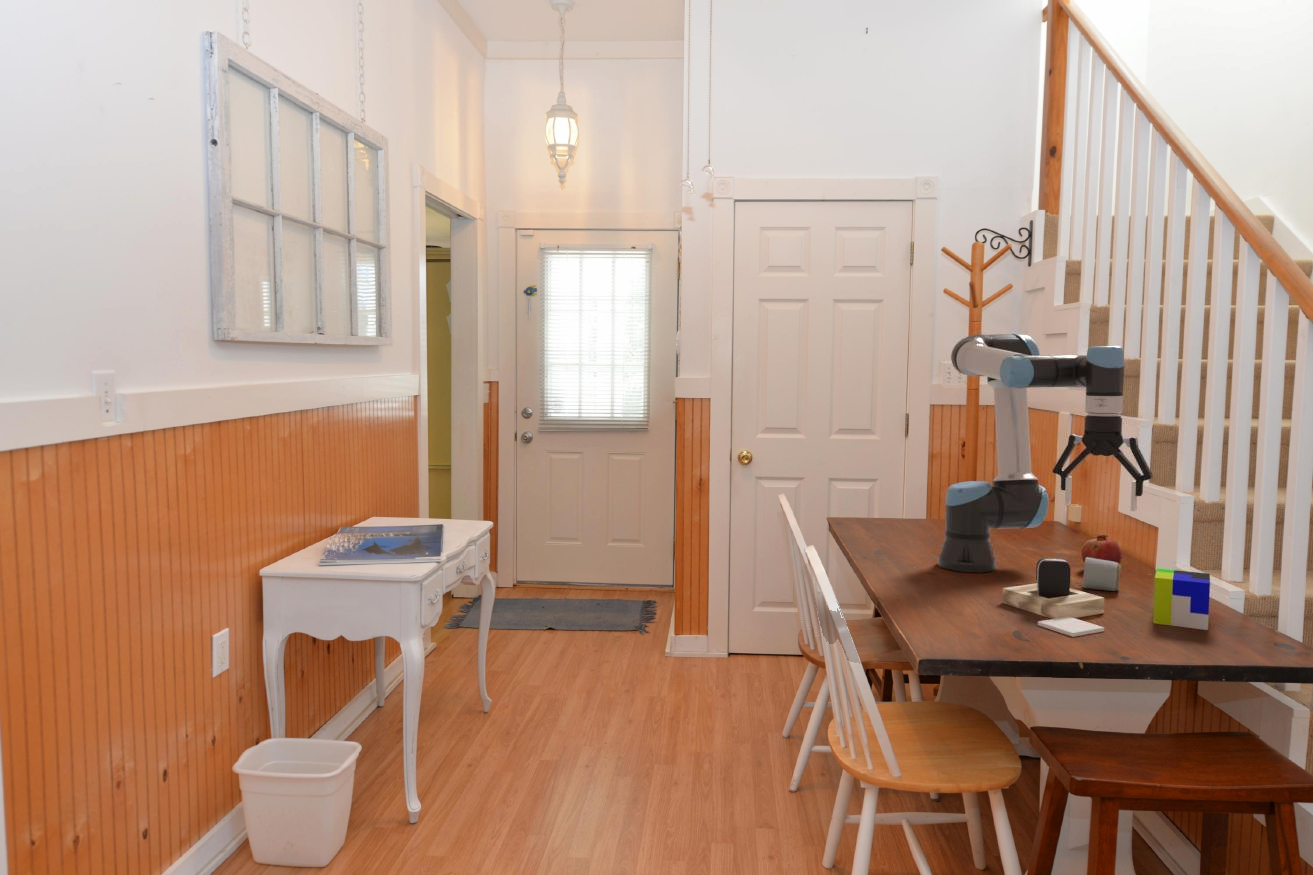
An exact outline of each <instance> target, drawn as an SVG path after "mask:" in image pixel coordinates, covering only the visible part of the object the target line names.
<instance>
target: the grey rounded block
mask: <svg viewBox="0 0 1313 875" xmlns="http://www.w3.org/2000/svg"><path fill="white" fill-rule="evenodd" d="M1121 570H1122V565H1121V563H1120V564H1119V563H1116V562H1113V561H1107V560H1101V559H1094V558H1089V557H1086V558H1085V563H1084V567H1083V577H1082V588H1084V589H1090V590H1101V591H1108V592H1116V591H1118V590H1120V582H1121Z"/></svg>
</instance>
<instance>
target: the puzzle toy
mask: <svg viewBox="0 0 1313 875" xmlns="http://www.w3.org/2000/svg"><path fill="white" fill-rule="evenodd" d="M1153 589H1154V590H1153V591H1154V592H1153V594H1154V596H1153V614H1152V616H1153V618H1152V619H1153V620H1152V623H1153V624H1158V625H1166V626H1174V627H1180V628H1182V627H1183V628H1189V629H1197V630H1202V631H1203V630H1205V631H1208V630H1209V617H1210V616H1209V612H1210V592H1211V591H1210V589H1211V574H1210V573H1206V572H1199V571H1198V572H1196V571H1186V570H1178V569H1177V570H1176V569H1169V568H1167V569H1166V568H1156V572H1155V576H1154V588H1153Z"/></svg>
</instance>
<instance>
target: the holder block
mask: <svg viewBox="0 0 1313 875" xmlns="http://www.w3.org/2000/svg"><path fill="white" fill-rule="evenodd" d="M1105 600H1106V598H1105V596H1104V597H1102V596H1099V595H1095V594H1092V593H1088V592H1085V591H1082V590H1078V589H1073V588H1071V587H1070V592H1069V596H1062V597H1056V598H1049V599H1048V598H1045V597H1041V596H1038V595H1037V582H1036V583H1031V584H1030V583H1029V584H1023V585H1017V586H1008V587H1002V603H1003V604H1005V605H1009V606H1011V607H1013V608H1017V609H1020V610H1024V611H1027V612H1029V613H1033V614H1036V615H1039V616H1042V617H1045V618H1047V619H1048V618H1049V619H1056V618H1062V617H1068V616H1069V617H1072V618H1075V619H1078V618H1082V617H1089V616H1093V615H1100V614H1104V613H1105Z"/></svg>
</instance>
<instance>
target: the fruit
mask: <svg viewBox="0 0 1313 875" xmlns="http://www.w3.org/2000/svg"><path fill="white" fill-rule="evenodd" d="M1108 537H1109V536H1108V535H1107V534H1103V535H1100V534H1099V535H1096V538H1092V539H1089V540H1087V541H1086V542H1085V543H1084V544H1083V545H1082V548H1081V559H1082V561H1083V563H1084V564H1085V558H1086V557H1089V558H1094V559H1101V560H1107V561H1113V562H1116V563H1119V564H1120V565H1121V562H1122V558H1123V551H1122V548H1121V546H1120V545H1119V543H1118V542H1117V541H1115V540H1114V539H1112V538H1110V539H1109V538H1108Z"/></svg>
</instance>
